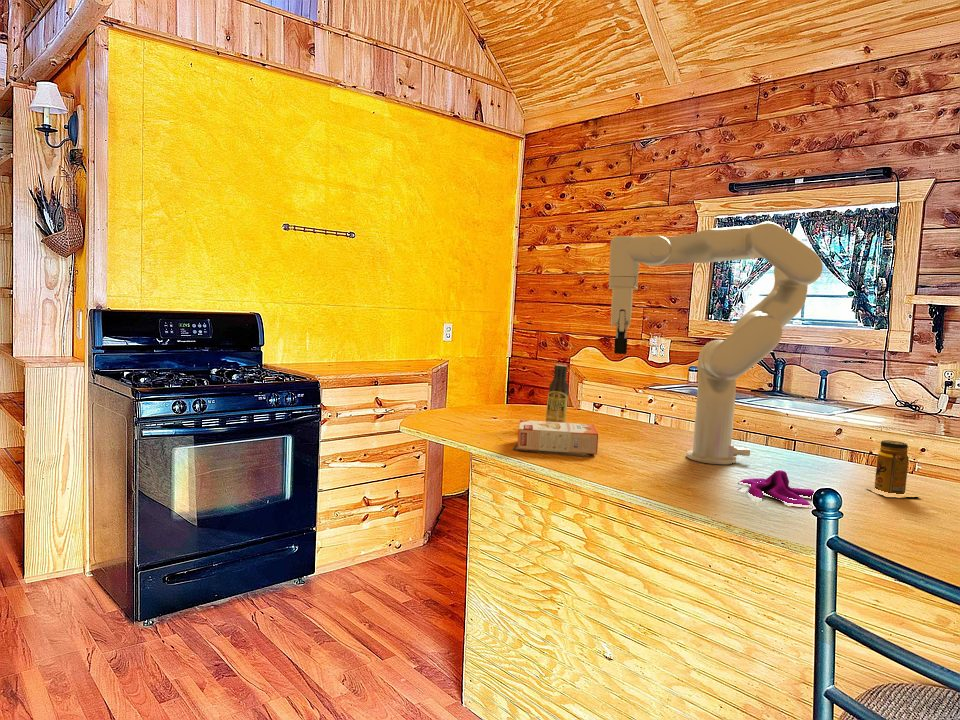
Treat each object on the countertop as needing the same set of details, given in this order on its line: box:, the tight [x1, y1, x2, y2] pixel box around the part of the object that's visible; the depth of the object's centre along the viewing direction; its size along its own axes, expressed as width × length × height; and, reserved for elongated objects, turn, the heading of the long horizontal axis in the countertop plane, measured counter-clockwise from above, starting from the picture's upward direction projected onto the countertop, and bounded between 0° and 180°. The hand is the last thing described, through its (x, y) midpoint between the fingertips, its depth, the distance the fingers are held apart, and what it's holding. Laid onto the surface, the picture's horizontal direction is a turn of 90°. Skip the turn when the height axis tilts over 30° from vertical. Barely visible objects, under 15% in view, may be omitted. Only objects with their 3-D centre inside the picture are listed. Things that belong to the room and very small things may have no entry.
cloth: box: [739, 469, 815, 509], centre depth 151 cm, size 22×19×6 cm
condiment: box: [874, 439, 910, 494], centre depth 156 cm, size 7×8×12 cm
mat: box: [512, 441, 591, 458], centre depth 189 cm, size 20×16×1 cm
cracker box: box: [517, 419, 599, 455], centre depth 187 cm, size 14×6×21 cm
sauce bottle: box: [545, 364, 570, 423], centre depth 215 cm, size 7×6×20 cm
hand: (620, 353), depth 183 cm, fingers closed
